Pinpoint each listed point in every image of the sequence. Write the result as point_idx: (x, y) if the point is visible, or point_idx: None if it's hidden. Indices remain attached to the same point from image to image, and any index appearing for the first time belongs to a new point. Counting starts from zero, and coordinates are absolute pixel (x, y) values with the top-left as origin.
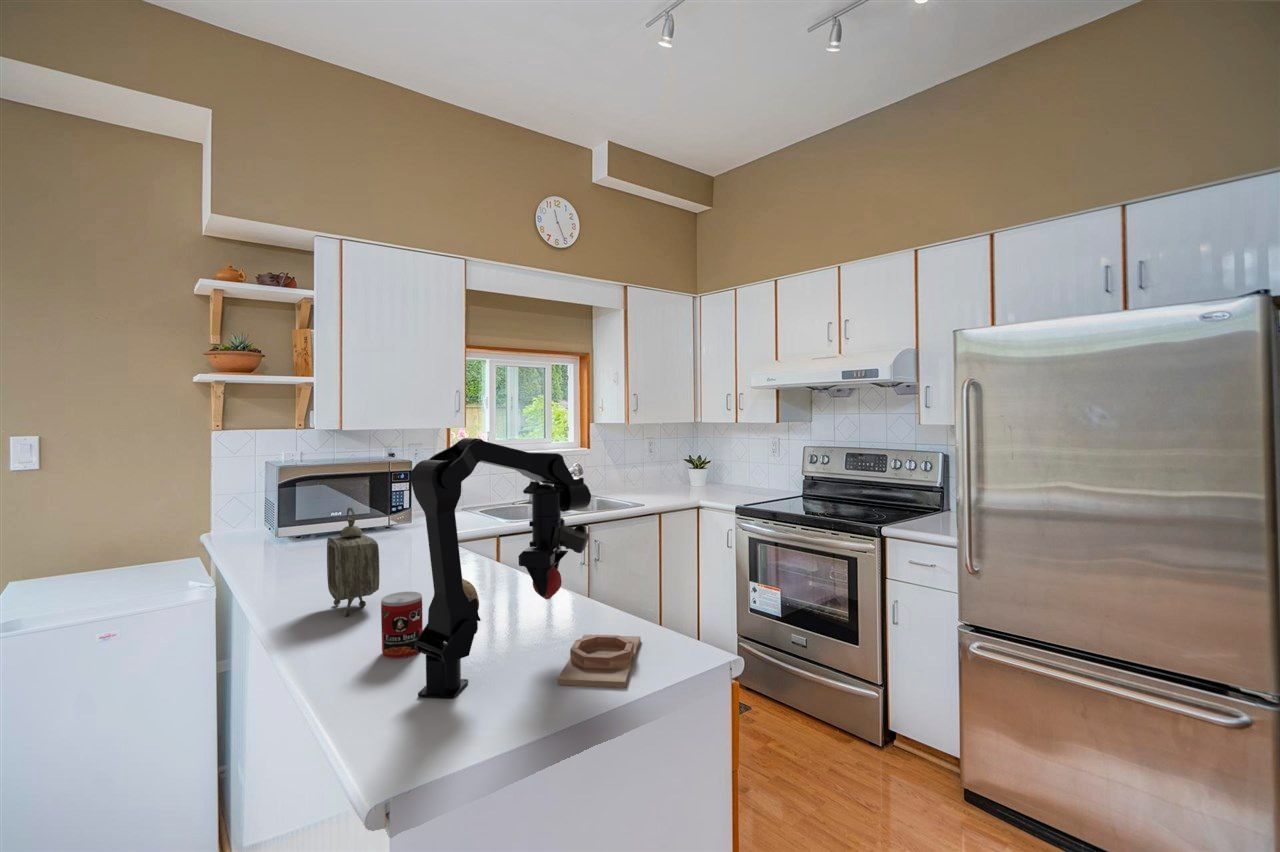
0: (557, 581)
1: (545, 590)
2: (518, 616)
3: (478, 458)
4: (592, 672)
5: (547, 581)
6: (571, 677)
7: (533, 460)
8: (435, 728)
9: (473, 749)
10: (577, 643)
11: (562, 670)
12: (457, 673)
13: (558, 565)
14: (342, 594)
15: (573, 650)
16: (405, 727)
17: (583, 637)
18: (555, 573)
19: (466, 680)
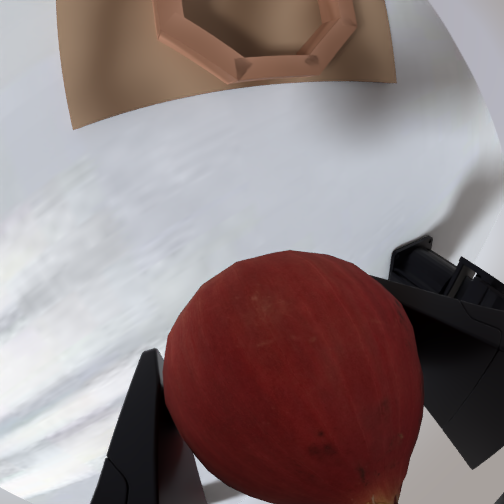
0: (360, 280)
1: (390, 283)
2: (40, 392)
3: None
4: (356, 10)
5: (442, 304)
6: (386, 54)
7: None
8: (469, 206)
9: (489, 145)
10: (268, 64)
11: (363, 80)
12: (436, 257)
13: (107, 501)
14: None
15: (327, 62)
16: (463, 238)
17: (100, 114)
18: (399, 356)
19: (395, 256)
